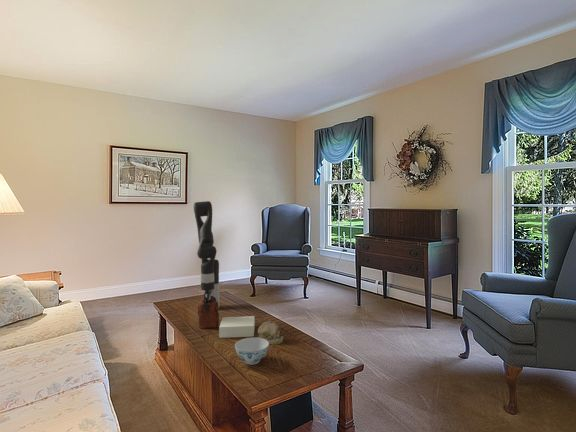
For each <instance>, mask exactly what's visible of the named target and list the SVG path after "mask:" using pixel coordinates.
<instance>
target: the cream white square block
mask: <svg viewBox="0 0 576 432" xmlns="http://www.w3.org/2000/svg"><path fill="white" fill-rule="evenodd" d="M255 323H256V322H255V315H249V316H222V318H221V321H220V323H219V326H218V337H219V338H220V339H221V338H222V339H224V338H225V339H226V338H243V337H244V338H252V337H254V336H255V329H256V328H255V327H256V326H255Z"/></svg>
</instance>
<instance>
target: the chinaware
mask: <svg viewBox="0 0 576 432" xmlns="http://www.w3.org/2000/svg"><path fill="white" fill-rule="evenodd" d="M269 347H270V344H269V342H268V341H267V340H265V339H263V338H258V337H244V338H243V339H239V340H238V341H237V342H235V344H234V348H235V352H236V354H237V356H238V357H239V358H240V359H241V360H242V361H243V362H244V363H245V364H247V365H257V364H258V363H260V361H261V360H262V359H264V357H265V356H266V354H267V353H268V349H269Z"/></svg>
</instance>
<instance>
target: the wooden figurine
mask: <svg viewBox="0 0 576 432" xmlns="http://www.w3.org/2000/svg"><path fill="white" fill-rule="evenodd" d="M206 302H208V301H206ZM219 310H220V307H219V308H218V302H217V301H216V298H215V297H214V296H211V299H210V301H209V311H207V312H206V311H205V305H204V296H203V297H202V298H201V300H199V301H198V302H197V316H198V328H199V329H211V328H213V329H214V328H219V326H220V318H219V317H220V316H219V315H220V314H219Z"/></svg>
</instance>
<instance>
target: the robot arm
mask: <svg viewBox="0 0 576 432" xmlns="http://www.w3.org/2000/svg"><path fill="white" fill-rule="evenodd" d="M193 203H194V204H193V213H194V217H195V218H194V219H195V223H196V228H197V236H198V243H199V245H198V248H197V254H196V255H197V257H198V259H201V265H200V289H201V291H204V293H203V297H204V305H205V311H206V312H207V311H209V301H210V299H211V296H214V297H215V298H216V301H217V302H218V308H219V309H220V261H219V260H218V259H216V256H217V248H216V246H214V243H215V241H214V234H213V231H212V226H213V205H212V202H211V201H210V200H205V201H196V202H193ZM202 217H206V219H205V221H203V219H202ZM206 301H208V302H206Z"/></svg>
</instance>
